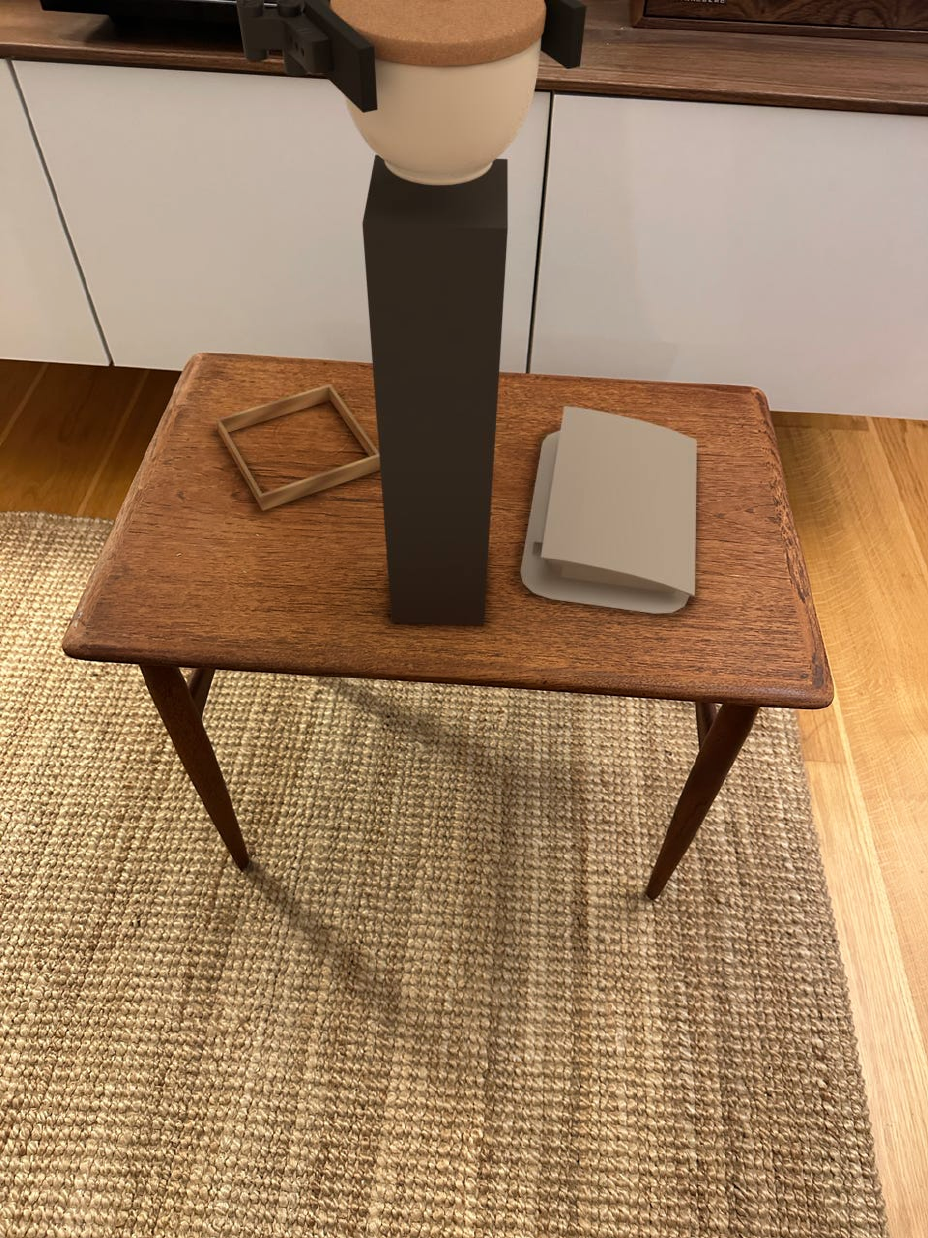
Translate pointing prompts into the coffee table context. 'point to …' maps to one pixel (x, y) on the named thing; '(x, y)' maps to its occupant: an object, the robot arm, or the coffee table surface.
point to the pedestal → (436, 382)
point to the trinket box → (446, 81)
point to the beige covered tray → (613, 514)
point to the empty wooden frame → (310, 483)
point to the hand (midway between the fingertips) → (477, 58)
